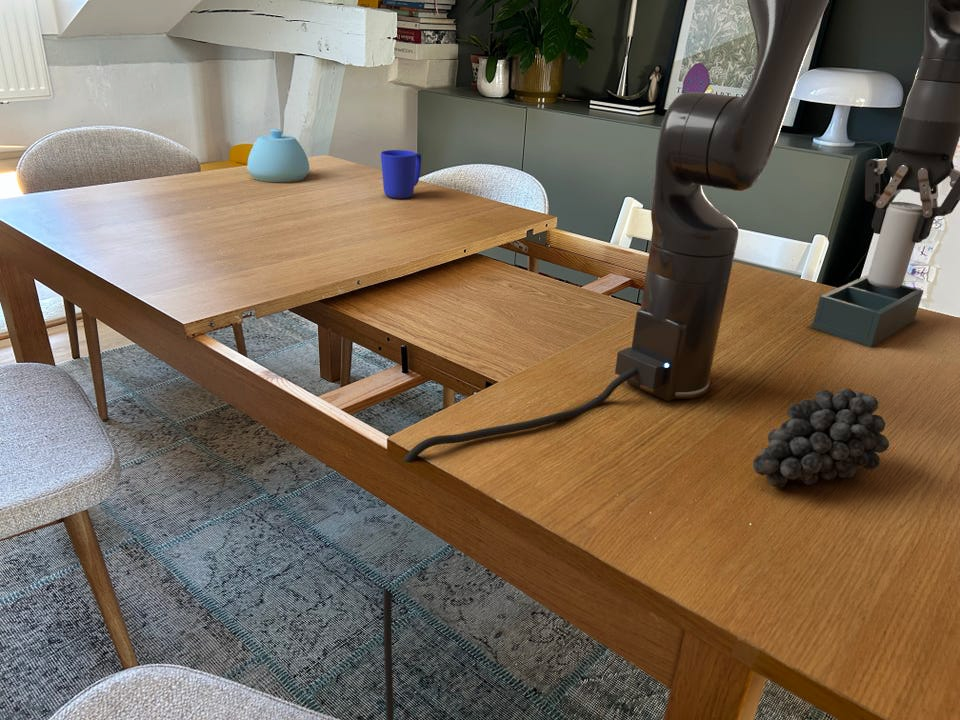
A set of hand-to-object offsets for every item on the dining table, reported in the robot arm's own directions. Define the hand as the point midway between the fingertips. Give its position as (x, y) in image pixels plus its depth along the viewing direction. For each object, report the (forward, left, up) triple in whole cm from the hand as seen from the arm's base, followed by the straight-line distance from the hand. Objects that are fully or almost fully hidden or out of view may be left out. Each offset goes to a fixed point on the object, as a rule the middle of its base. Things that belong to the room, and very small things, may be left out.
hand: (897, 236), depth 108 cm
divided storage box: (-4, 0, -13) cm, 14 cm away
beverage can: (0, 0, -8) cm, 8 cm away
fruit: (-51, -13, -13) cm, 54 cm away
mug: (-12, +104, -13) cm, 105 cm away
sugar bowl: (-27, +136, -13) cm, 139 cm away
